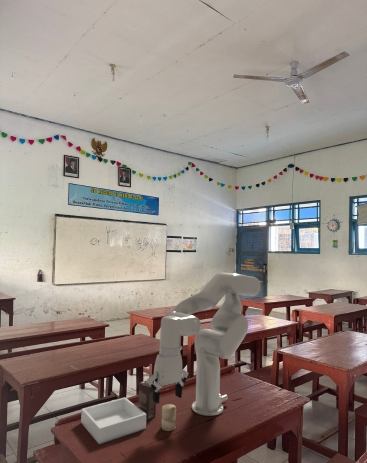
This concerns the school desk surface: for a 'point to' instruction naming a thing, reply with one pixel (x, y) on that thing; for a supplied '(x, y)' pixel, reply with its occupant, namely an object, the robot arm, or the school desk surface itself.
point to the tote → (113, 420)
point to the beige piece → (168, 417)
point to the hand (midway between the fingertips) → (167, 399)
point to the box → (146, 400)
